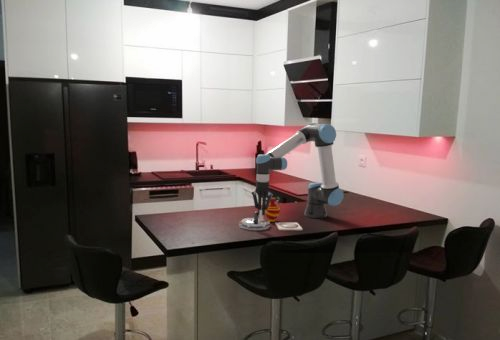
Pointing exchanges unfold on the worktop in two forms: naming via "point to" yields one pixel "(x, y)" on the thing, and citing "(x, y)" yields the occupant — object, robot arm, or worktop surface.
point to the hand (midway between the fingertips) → (261, 220)
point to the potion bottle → (272, 211)
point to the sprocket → (254, 222)
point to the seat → (288, 226)
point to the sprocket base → (254, 228)
